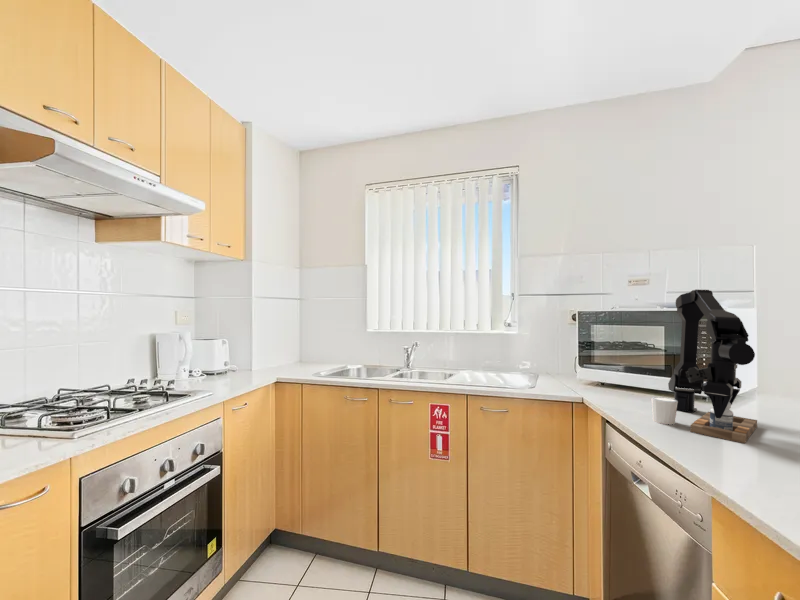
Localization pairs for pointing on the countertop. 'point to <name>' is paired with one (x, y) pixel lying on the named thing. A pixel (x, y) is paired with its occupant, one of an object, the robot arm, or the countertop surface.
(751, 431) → the rail
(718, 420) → the pill bottle
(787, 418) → the countertop surface
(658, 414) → the white cylinder
